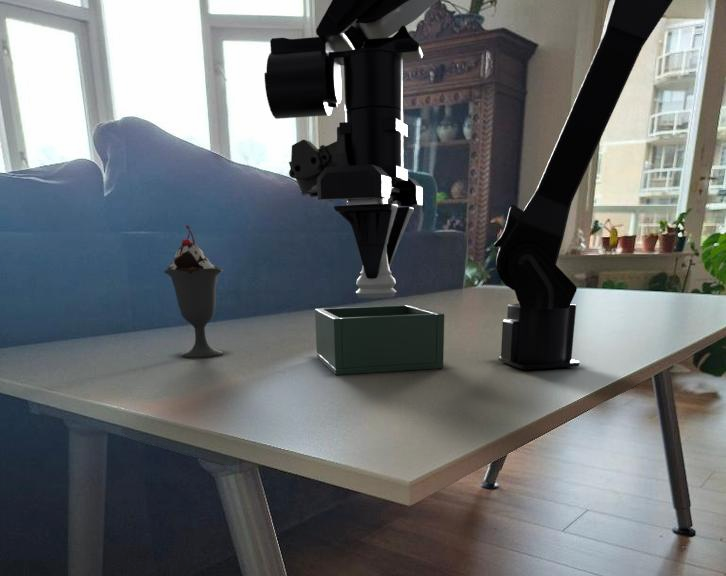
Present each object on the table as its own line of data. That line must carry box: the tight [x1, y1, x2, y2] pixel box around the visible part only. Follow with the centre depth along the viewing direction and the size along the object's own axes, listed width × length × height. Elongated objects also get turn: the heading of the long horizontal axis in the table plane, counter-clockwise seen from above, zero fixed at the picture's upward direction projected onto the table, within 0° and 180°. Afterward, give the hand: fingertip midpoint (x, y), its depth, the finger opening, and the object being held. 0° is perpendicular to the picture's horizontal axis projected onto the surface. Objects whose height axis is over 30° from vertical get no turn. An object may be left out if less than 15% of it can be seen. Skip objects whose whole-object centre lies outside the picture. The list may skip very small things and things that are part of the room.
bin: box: [314, 304, 445, 376], centre depth 73 cm, size 12×12×6 cm
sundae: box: [164, 224, 224, 359], centre depth 80 cm, size 7×7×15 cm
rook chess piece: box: [355, 243, 398, 299], centre depth 71 cm, size 4×4×8 cm
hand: (376, 277), depth 71 cm, fingers closed on rook chess piece, 3 cm apart
